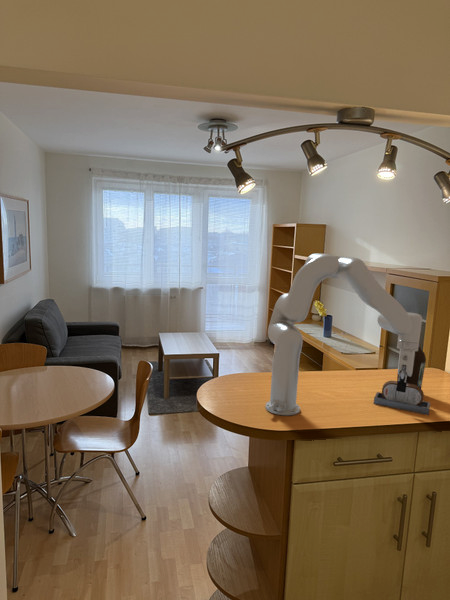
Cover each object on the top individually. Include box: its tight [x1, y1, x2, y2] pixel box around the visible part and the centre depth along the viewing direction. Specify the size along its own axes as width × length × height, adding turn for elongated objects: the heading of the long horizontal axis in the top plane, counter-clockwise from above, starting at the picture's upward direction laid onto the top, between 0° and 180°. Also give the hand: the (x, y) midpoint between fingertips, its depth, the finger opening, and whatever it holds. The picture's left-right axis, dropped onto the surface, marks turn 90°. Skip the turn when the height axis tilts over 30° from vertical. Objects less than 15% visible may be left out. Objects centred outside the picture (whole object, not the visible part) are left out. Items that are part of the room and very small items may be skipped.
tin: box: [381, 380, 425, 406], centre depth 166 cm, size 15×3×8 cm, turn 62°
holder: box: [373, 391, 431, 416], centre depth 167 cm, size 8×20×2 cm, turn 62°
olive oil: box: [396, 346, 427, 389], centre depth 181 cm, size 11×11×25 cm
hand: (402, 388), depth 166 cm, fingers open, 9 cm apart
